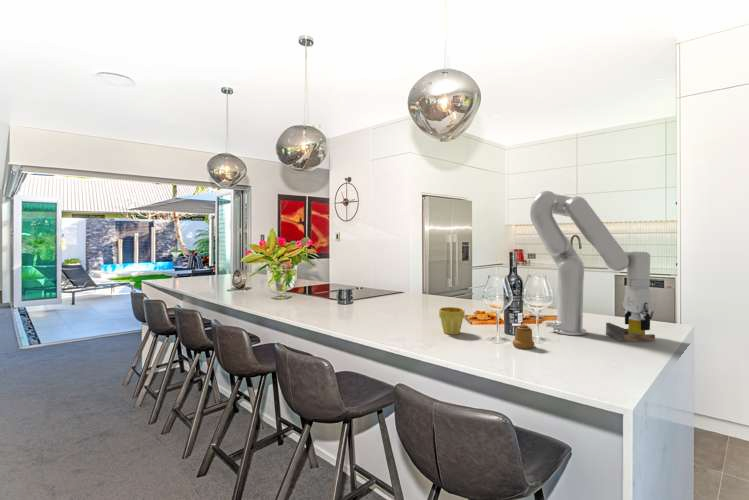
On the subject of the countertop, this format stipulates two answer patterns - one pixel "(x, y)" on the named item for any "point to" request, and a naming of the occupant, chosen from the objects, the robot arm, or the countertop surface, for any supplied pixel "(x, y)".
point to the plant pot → (451, 319)
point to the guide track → (626, 334)
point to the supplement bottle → (635, 324)
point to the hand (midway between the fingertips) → (636, 327)
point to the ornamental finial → (523, 337)
